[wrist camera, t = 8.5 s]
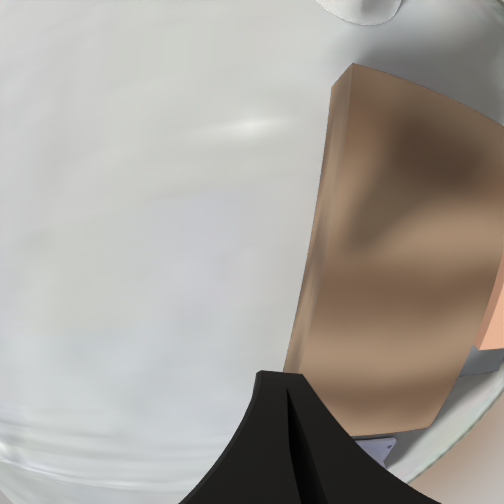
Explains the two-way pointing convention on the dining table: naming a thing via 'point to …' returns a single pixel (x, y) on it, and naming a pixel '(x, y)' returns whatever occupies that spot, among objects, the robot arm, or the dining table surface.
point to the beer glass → (362, 10)
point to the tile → (493, 316)
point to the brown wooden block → (397, 251)
